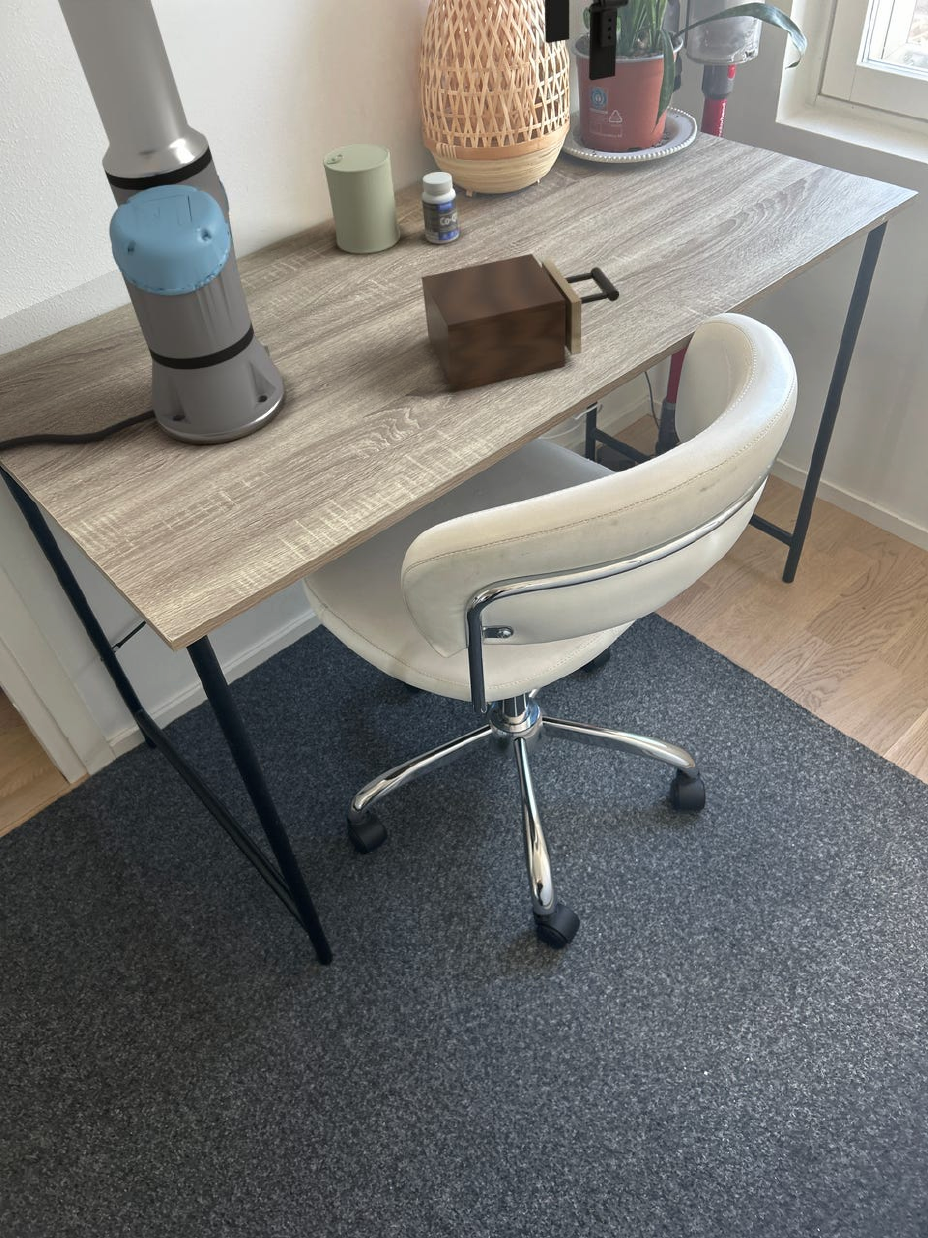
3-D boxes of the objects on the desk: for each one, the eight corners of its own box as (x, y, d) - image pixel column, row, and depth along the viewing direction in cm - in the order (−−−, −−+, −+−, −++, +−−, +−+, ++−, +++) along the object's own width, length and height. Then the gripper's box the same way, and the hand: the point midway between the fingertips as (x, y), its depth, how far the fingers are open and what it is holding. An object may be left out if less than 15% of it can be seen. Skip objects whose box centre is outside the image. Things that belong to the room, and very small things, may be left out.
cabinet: (533, 318, 123) (531, 253, 116) (565, 366, 115) (565, 299, 109) (429, 341, 121) (421, 276, 115) (454, 392, 113) (447, 325, 107)
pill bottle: (445, 247, 137) (439, 187, 131) (419, 239, 139) (412, 180, 133) (465, 233, 140) (461, 173, 134) (439, 226, 142) (434, 167, 136)
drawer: (593, 301, 123) (594, 249, 118) (625, 343, 116) (627, 289, 111) (455, 331, 120) (450, 280, 115) (479, 376, 113) (475, 323, 108)
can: (330, 231, 143) (315, 147, 134) (391, 218, 145) (380, 134, 136) (344, 259, 137) (329, 172, 128) (407, 245, 138) (397, 158, 130)
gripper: (672, -172, 86) (656, 87, 102) (570, -207, 103) (569, 20, 118) (593, -159, 85) (589, 101, 101) (502, -197, 102) (511, 31, 117)
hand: (578, 58), depth 110 cm, fingers open, 13 cm apart
